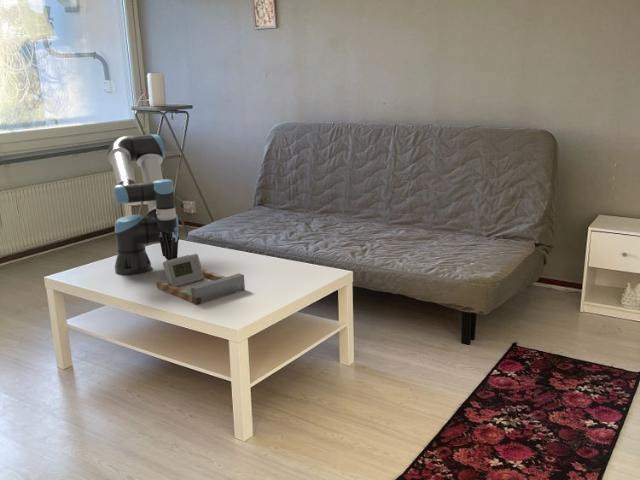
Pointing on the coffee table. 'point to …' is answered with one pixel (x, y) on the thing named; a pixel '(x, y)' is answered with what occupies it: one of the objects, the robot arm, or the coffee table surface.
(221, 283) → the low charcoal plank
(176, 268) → the digital clock
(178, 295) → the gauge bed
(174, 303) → the coffee table surface
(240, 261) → the coffee table surface
